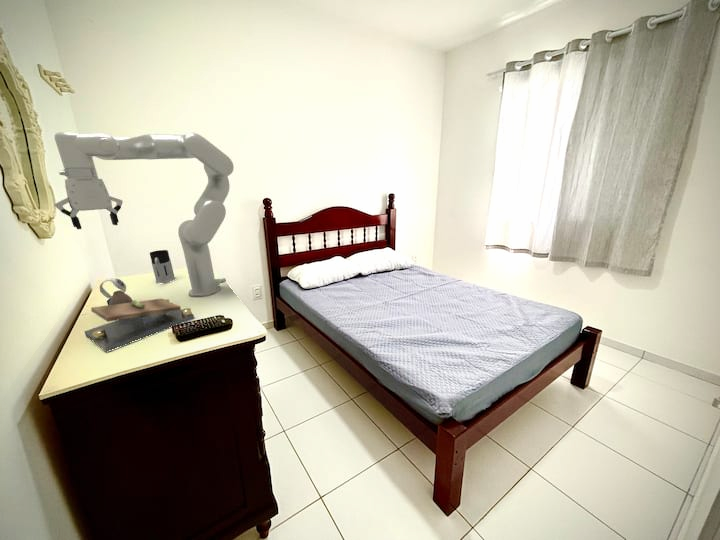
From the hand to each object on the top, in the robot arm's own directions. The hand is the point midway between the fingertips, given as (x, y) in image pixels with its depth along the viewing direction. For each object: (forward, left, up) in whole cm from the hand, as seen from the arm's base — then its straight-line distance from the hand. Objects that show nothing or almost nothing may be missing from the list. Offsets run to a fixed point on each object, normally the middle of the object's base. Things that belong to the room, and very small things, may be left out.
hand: (97, 226), depth 99 cm
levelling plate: (+1, +19, -27) cm, 33 cm away
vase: (0, 0, -33) cm, 33 cm away
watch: (-2, -12, -33) cm, 35 cm away
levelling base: (+1, +19, -33) cm, 38 cm away
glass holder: (-25, -25, -33) cm, 48 cm away
